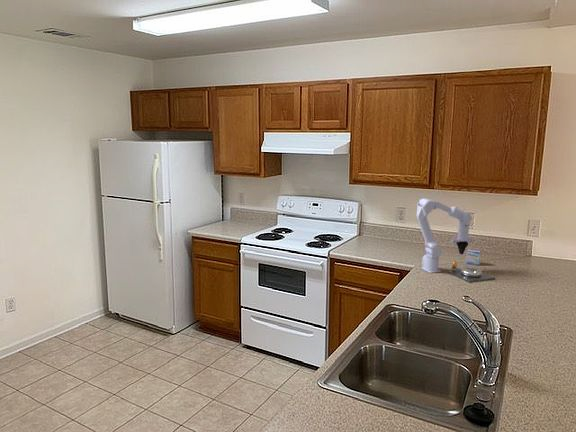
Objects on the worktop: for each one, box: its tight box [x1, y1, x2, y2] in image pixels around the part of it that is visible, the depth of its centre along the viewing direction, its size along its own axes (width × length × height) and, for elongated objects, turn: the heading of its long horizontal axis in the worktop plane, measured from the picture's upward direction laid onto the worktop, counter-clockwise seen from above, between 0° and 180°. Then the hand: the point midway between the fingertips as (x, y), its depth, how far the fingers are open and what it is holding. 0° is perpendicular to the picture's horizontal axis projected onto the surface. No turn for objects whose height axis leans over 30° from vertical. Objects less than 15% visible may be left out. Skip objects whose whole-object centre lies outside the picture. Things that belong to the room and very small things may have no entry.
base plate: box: [447, 269, 496, 284], centre depth 255 cm, size 18×18×1 cm
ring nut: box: [451, 261, 482, 277], centre depth 257 cm, size 18×11×4 cm, turn 36°
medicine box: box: [465, 249, 482, 266], centre depth 278 cm, size 8×4×9 cm, turn 62°
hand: (461, 253), depth 264 cm, fingers closed
